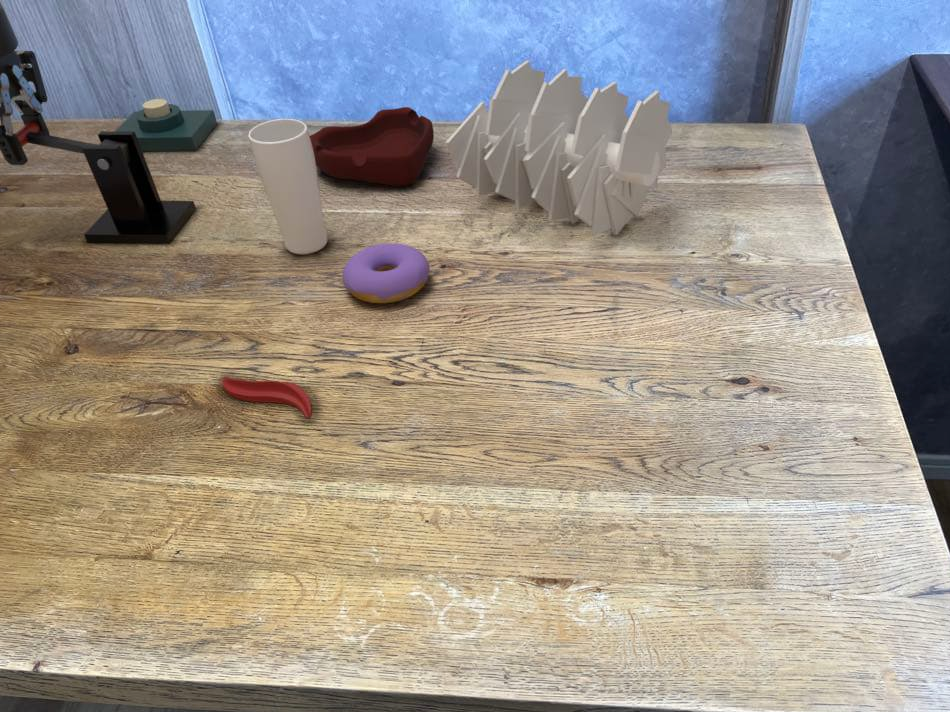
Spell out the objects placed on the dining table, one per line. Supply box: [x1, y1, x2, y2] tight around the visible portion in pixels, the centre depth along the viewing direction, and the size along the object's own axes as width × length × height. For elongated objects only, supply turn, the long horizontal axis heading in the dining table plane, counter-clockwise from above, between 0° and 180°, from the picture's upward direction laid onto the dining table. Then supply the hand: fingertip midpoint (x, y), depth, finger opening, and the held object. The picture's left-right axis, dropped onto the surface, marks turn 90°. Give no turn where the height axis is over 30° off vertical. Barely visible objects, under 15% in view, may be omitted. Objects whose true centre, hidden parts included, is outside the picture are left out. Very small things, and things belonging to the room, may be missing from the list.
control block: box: [115, 103, 218, 152], centre depth 127 cm, size 13×10×4 cm
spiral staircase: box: [444, 60, 674, 237], centre depth 101 cm, size 18×18×25 cm
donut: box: [342, 242, 430, 304], centre depth 94 cm, size 10×9×5 cm
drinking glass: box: [247, 118, 329, 255], centre depth 98 cm, size 7×7×15 cm
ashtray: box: [309, 106, 435, 188], centre depth 116 cm, size 18×16×5 cm
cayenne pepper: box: [221, 375, 312, 419], centre depth 81 cm, size 12×5×2 cm, turn 52°
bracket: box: [82, 130, 197, 244], centre depth 104 cm, size 11×9×12 cm
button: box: [142, 98, 171, 118], centre depth 125 cm, size 4×4×2 cm
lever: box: [14, 122, 131, 164], centre depth 101 cm, size 13×5×2 cm, turn 86°
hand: (31, 152), depth 102 cm, fingers closed on lever, 5 cm apart
